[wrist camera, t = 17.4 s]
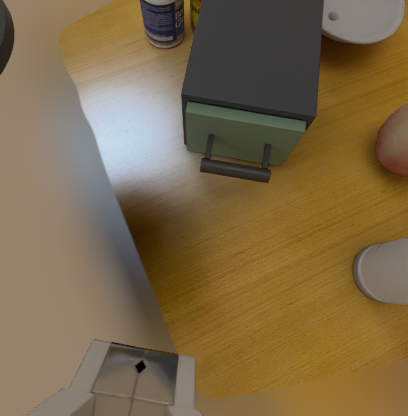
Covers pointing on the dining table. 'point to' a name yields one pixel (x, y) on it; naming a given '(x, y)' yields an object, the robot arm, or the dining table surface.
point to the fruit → (394, 142)
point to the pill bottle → (163, 21)
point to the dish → (361, 20)
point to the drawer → (240, 139)
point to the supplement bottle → (194, 12)
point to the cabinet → (256, 57)
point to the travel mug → (383, 271)
